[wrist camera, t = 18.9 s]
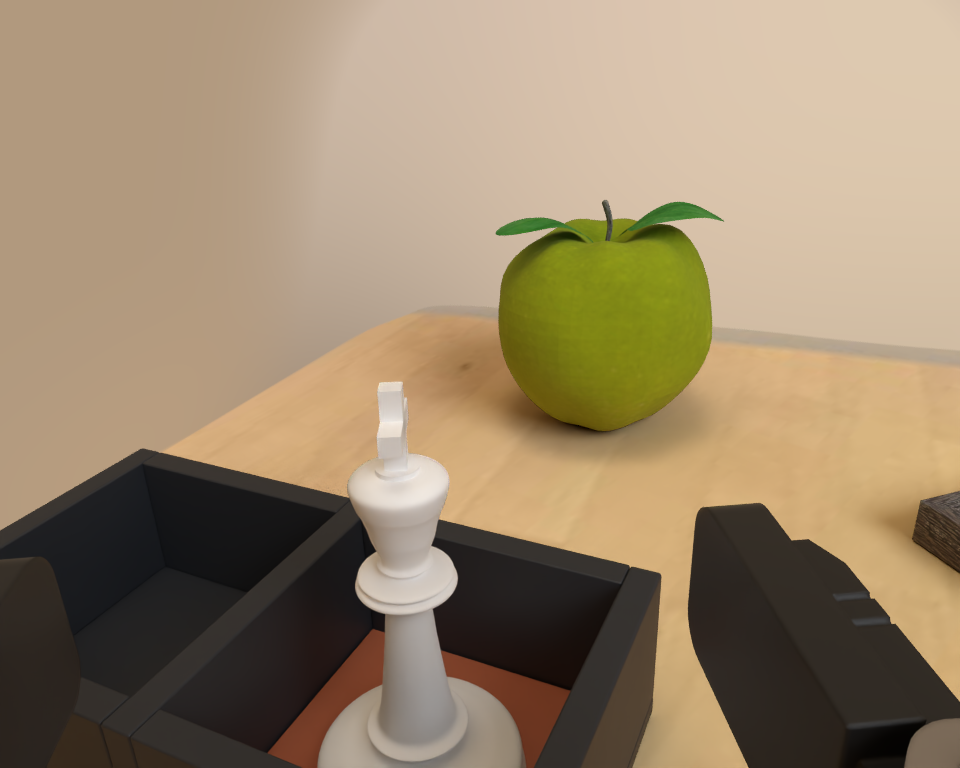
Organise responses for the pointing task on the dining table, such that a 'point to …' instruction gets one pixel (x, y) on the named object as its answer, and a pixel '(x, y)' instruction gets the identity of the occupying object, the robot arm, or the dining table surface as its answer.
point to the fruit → (606, 315)
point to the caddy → (314, 623)
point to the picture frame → (940, 527)
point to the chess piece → (412, 625)
